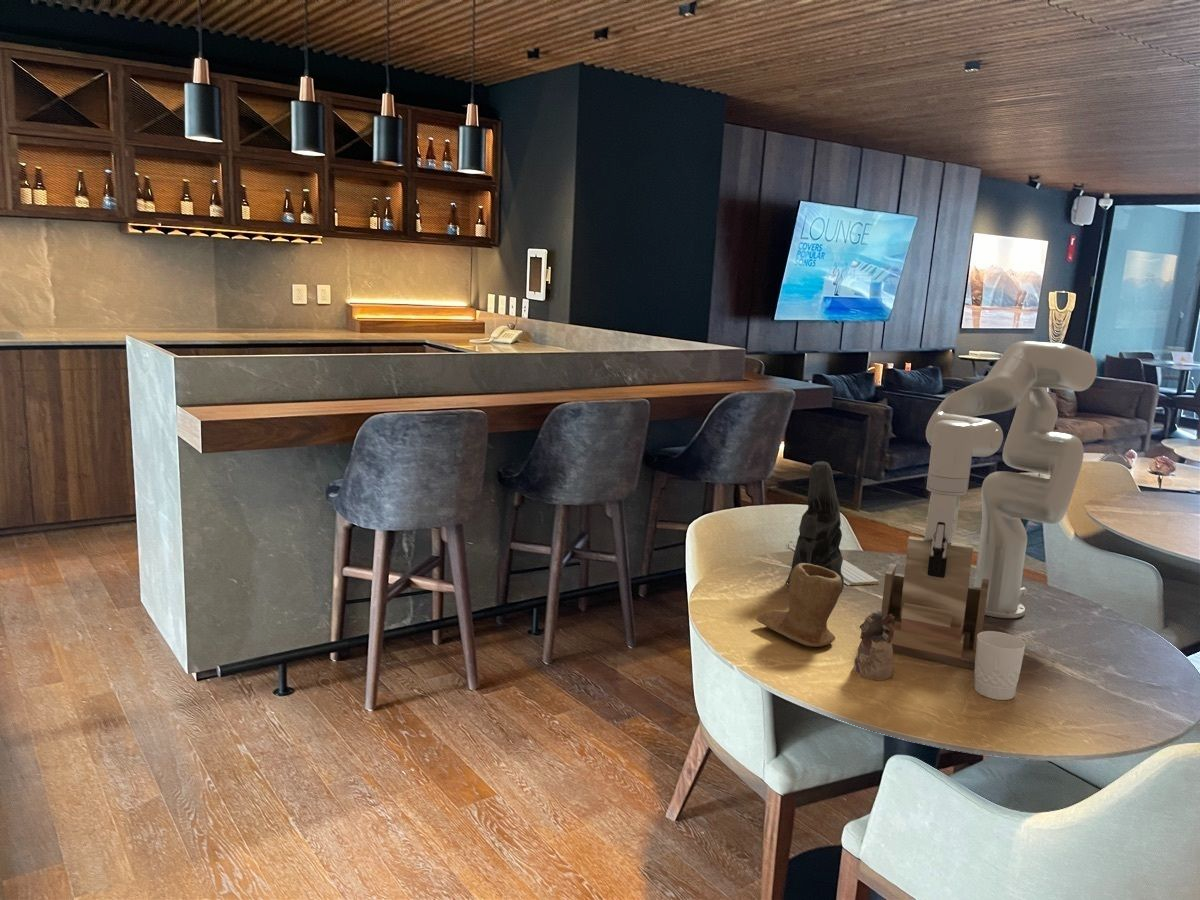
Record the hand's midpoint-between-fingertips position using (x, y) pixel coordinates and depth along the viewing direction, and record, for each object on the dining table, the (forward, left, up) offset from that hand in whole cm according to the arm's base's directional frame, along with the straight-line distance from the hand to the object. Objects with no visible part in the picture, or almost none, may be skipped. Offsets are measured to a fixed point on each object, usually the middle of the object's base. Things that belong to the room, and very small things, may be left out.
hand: (937, 572), depth 175 cm
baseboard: (-21, -45, -16) cm, 52 cm away
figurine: (+21, +3, -16) cm, 26 cm away
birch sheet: (0, 0, -14) cm, 14 cm away
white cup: (+8, +19, -16) cm, 26 cm away
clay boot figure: (+20, -16, -16) cm, 30 cm away
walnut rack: (+2, +1, -15) cm, 15 cm away
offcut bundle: (+5, +3, -14) cm, 15 cm away
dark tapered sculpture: (-6, -36, -16) cm, 40 cm away
